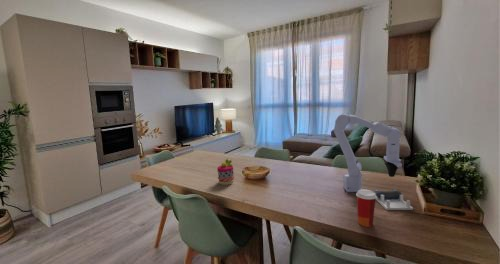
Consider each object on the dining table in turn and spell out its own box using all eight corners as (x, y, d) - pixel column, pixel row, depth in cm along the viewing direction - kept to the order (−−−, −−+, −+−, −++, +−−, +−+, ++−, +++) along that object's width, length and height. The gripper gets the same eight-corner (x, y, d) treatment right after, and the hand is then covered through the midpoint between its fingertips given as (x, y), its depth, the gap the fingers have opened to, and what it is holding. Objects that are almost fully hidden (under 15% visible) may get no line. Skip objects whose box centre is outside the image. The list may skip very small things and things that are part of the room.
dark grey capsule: (377, 199, 120) (378, 193, 119) (374, 196, 124) (375, 189, 123) (402, 199, 119) (403, 192, 119) (398, 195, 123) (399, 189, 122)
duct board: (386, 210, 112) (386, 202, 111) (372, 196, 127) (372, 189, 126) (413, 209, 111) (413, 201, 110) (396, 196, 126) (396, 188, 125)
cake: (230, 186, 150) (229, 163, 148) (215, 185, 154) (213, 162, 151) (236, 180, 160) (235, 158, 157) (222, 179, 163) (220, 158, 161)
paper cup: (369, 218, 106) (370, 188, 103) (379, 227, 98) (380, 195, 96) (351, 219, 105) (352, 189, 103) (360, 228, 98) (361, 196, 96)
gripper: (409, 154, 116) (407, 181, 118) (393, 147, 130) (392, 171, 132) (393, 155, 117) (392, 181, 119) (380, 148, 131) (379, 171, 133)
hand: (391, 176), depth 126 cm, fingers closed
